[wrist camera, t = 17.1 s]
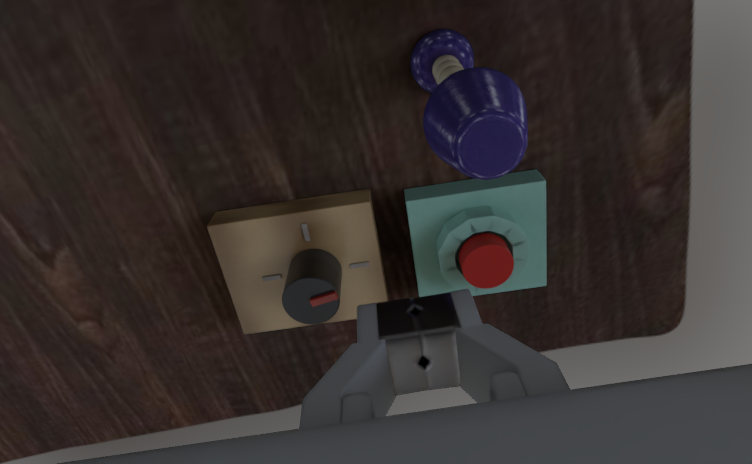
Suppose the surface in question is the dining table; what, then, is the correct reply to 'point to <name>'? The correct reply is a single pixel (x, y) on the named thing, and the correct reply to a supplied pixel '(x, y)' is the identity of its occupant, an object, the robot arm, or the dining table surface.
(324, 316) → the dimmer knob
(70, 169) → the dining table surface
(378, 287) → the dimmer panel
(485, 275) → the power button
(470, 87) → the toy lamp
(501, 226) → the switch block
